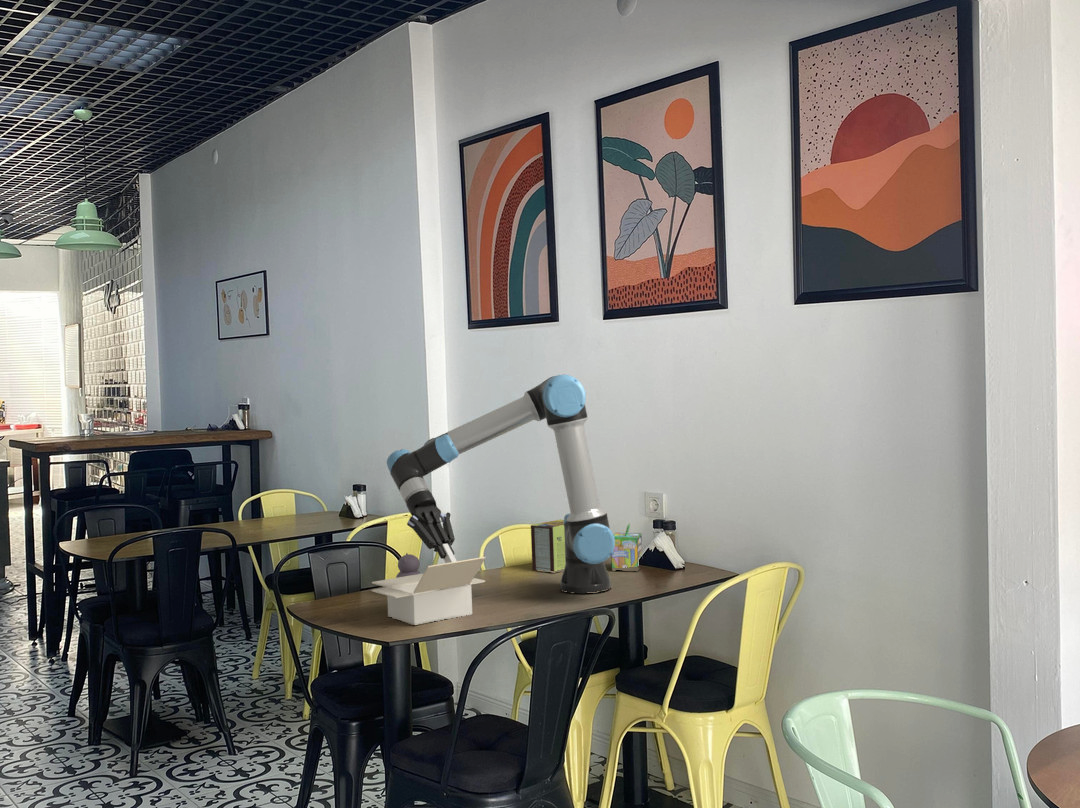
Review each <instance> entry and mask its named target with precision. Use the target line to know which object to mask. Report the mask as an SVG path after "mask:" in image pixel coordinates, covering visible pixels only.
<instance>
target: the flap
mask: <svg viewBox="0 0 1080 808" xmlns="http://www.w3.org/2000/svg"><path fill="white" fill-rule="evenodd" d="M485 559H486V556H481V557H475V558H469V559H463V560H456V562H450V563H438V564H432V565H427V567H426V569H425V570H424V572H423V573H424V574H423V576H422V578H421V579H420V581H419V583H418V585H417V587H416V588H415V590H414V592H413V593H414V594H415V593H420V592H426V591H431V590H437V589H442V588H448V587H453V586H459V585H464V584H470V583H471V581H472V580H473V578H475V576H476V574H477V573H478V572H479V569H481V566H482V564H483V563H484V561H485Z"/></svg>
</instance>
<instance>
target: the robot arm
mask: <svg viewBox="0 0 1080 808" xmlns="http://www.w3.org/2000/svg"><path fill="white" fill-rule="evenodd" d="M586 394H587V393H586V389H585V388H584V386H583V384H582V383H581V381H580V380H579V379H577V378H576V377H574V376H572V375H569V374H563V373H562V374H557V375H553V376H550V377H548V378H547V379H545V380H544V381H542V382H541V383H539V384H538V385H536V386H534V387H533V388H531V389H529V390H527V391H525V392H524V395H523V396H522V397H520V398H517V399H516V400H513V401H511V402H509V403H507V404H505V405H502V406H501V407H498V408H495V409H494V410H491V411H490V412H488V413H485V414H483V415H481V416H478V417H477V418H475V419H472V420H470V421H467V422H466V423H464V424H462V425H461V424H460V426H458V427H455V428H453V429H451V430H448V431H447V432H445V433H442V434H440V435H438V436H436V437H432V438H430V439H428V440H427V441H426V442H424V444H423V446H421V447H419V448H417V449H416V450H414V451H409V450H408V449H406V448H405V449H404V448H401V449H400V450H399V449H398V450H394V452H392V453H390V455H389V456H388V458H386V466H387V469H388V471H389V474H390V476H391V478H392V480H393V482H394V484H395V485H396V487H397V490H398V491H399V492H400V495H401V497H402V499H403V501H404V503H405V504H406V507H407V509H408V511H409V513H410V515H411V516H410V517H409V519H408V521H407V523H406V525H407V526H408V527H409V528H411V529H412V530H413V531H414V533H415V534H416V535H417V536H418V538H419V539H420V540H421V542H423V543H424V545H425V546H426V548H428V549H429V550H431V549H434V550H433V551H434V552H435V553H437V554H438V556H439V558H440V559H443V561H444V562H445V563H450V562H456V561H457V559H456V557H455V551H454V549H453V547H452V546H453V544H454V542H455V540H456V538H455V535H454V530H453V526H452V522H451V516H452V515H451V513H450V512H446V513H444V512H442V510H441V509H440V508H439V507H438V506H437V502H436V501H437V500H435V497H434V496H433V493H432V491H431V489H430V488H429V486H428V484H427V482H426V480H425V479H424V477H425V476H427V475H429V474H431V473H432V472H434V471H436V470H438V469H439V468H441V467H443V466H445V465H447V464H449V463H451V462H452V461H454V460H455V459H457V458H458V457H459V455H461V454H463V453H465V452H467V451H470V450H472V449H474V448H476V447H479V446H481V445H483V444H485V443H487V442H490V441H491V440H494V439H496V438H498V437H500V436H502V435H505V434H506V433H508V432H511V431H513V430H515V429H518V428H519V427H522V426H524V425H526V424H528V423H530V422H533V421H537V422H541V421H542V420H545V419H546V424H547V427H548V428H550V429H551V430H553V433H554V437H555V443H556V447H557V452H558V456H559V462H560V463H559V464H560V467H561V472H562V477H563V481H564V487H565V491H566V492H565V493H566V496H567V500H568V506H569V513H567V514H565V515H564V518H563V520H564V523H563V525H564V533H565V568H564V571H563V572H562V575H561V579H560V583H559V585H560V591H561V590H563V591H567V592H574V593H587V592H597V591H602V590H606V589H609V588H610V587H611V588H612V584H611V583H612V582H611V577H610V575H609V572H608V570H607V566H606V564H605V561H607V560H608V559H609V558H610V557H611V554H612V553H613V551H614V547H615V538H614V533H613V530H611V527H610V523H609V522H610V521H609V517H608V513H607V511H606V510H605V509H603V508H602V507H601V505H600V500H599V493H598V491H597V485H596V480H595V475H594V470H593V464H592V460H591V454H590V448H589V445H588V441H587V440H588V439H587V435H586V430H585V423H586V421H587V420H588V413H587V407H586V400H587V399H586ZM441 522H442V523H441ZM563 591H562V592H563Z"/></svg>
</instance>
